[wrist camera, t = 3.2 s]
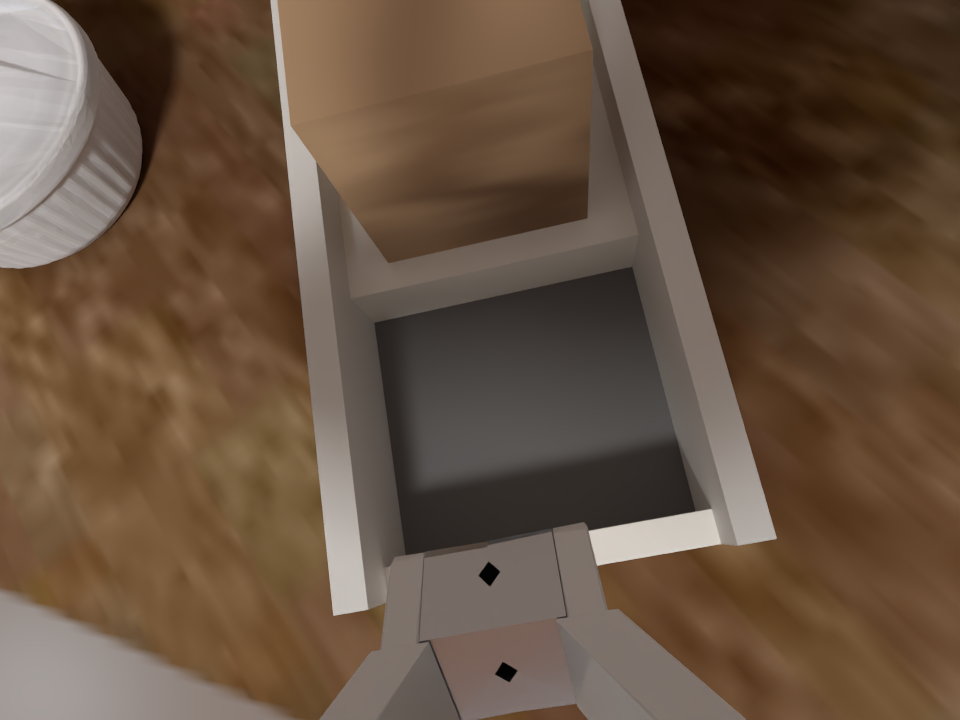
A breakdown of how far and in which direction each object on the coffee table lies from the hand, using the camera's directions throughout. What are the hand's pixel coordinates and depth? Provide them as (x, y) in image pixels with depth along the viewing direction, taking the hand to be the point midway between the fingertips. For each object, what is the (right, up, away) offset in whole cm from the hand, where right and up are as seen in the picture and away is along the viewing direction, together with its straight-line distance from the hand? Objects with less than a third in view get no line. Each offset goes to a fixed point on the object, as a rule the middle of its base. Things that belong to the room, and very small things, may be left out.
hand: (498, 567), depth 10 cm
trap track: (-1, +15, +17) cm, 23 cm away
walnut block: (-1, +11, +13) cm, 17 cm away
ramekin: (-20, +12, +20) cm, 30 cm away
